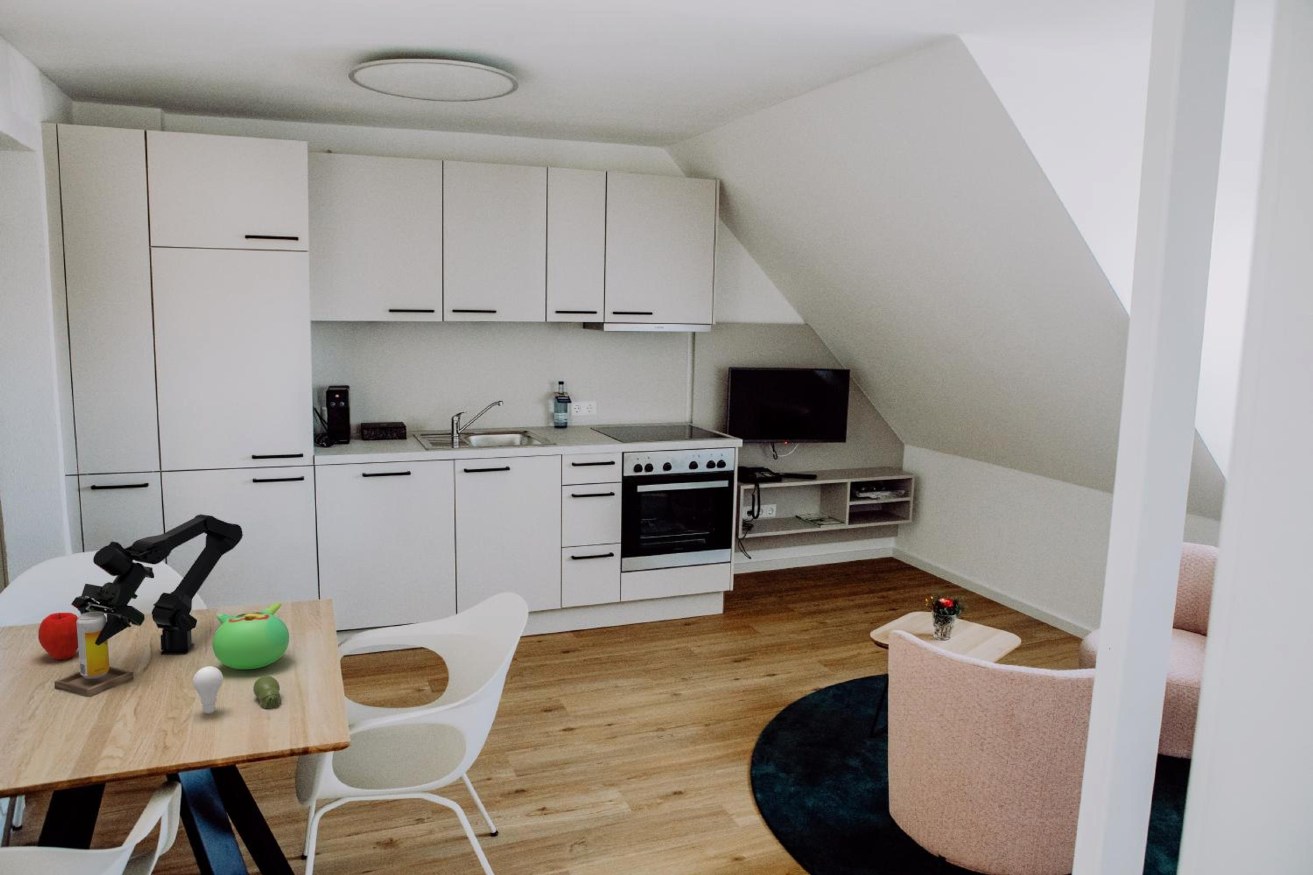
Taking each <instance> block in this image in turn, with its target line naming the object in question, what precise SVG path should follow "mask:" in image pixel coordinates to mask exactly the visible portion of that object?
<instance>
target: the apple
mask: <svg viewBox="0 0 1313 875" xmlns="http://www.w3.org/2000/svg"><path fill="white" fill-rule="evenodd" d="M77 620H78V616H77V614H74V613H73V612H56V613H55V612H54V613H51V614H49V615H48V616H46V617H45V618H44V619H42V620H41V623H40V624H39V627H38V631H37V632H38V636H37V638H38V643H39V644H40V646H41V647H42V649H43V650H44V651H45V652H46V653H47V654H48V655H49V656H50V657H52V659H55V660H66V659H70V658H72V657H74V655H75V654H76V653H77V651H78V650H79V649H78V640H77V639H76V638H77Z"/></svg>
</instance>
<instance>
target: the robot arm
mask: <svg viewBox="0 0 1313 875" xmlns="http://www.w3.org/2000/svg"><path fill="white" fill-rule="evenodd" d="M203 534H206V536H205V545H204V548H203V550H202V551H201V552H200V554H199V555H198V556H197V558H196V559H195V560H194V561H193V562H194V563H192V565H191V566H190V568H189V570H187V571H186V574H185V575H183V578H182V579H181V580H180V583H179V584H178V585H177V587H176V588H175V589H174V590H173V591H171V592H169V593H168V592H162V593H161V594H160V595H159V598H158V599H157V600H156V602H155V603H153V606H154V607H153V608H152V610H151V619H152V621H153V622H154V623H155V624H156V627H157V629H162V630H161V635H160V636H159V637H160V650H161V651H160V655H161V656H162V655H186V654H188V653H189V652H190V651H191V649H193V647H195V643H193V638H192V636H193V635H192V630H193V629H195V628H196V627H197V624H198V620H197V618H195V617H194V616H193V615H191V612H192V609H193V599H194V598H195V596H196V594H197V592H198V591H199V590H200V588H201V587H202V585H203V584H204V582H205V581H206V579H207V578H208V576H209V575H210V574H211V572H212V571H213V569H214V568H215V567H216V565H217V564H218V562H219V561H220V560H221V558H222V557H223V556H224V555H225V554H226V553H228V552H230V551H232V550H234V548H236V546H237V545H238V544H239V543H240V542H241V540H242V539H243V536H244V534H243V528H242V527H241V525H240V524H237V523H231V522H226V521H224V520H221V519H219V518H216V517H215V516H213V515H209V514H203V513H200V514H196V515H195V516H194V517H193V518H191V519H189V520H187V521H185V522H183V523H182V524H179V525H178V526H175V527H174V528H171V529H170V530H168V531H166V532H163V533H161V534H158V535H152V536H147V537H143V538H140V539H136V540H134V542H132V544H131V545H129V546H127V547H123V546H122V544H120V543H119V542H118V541H110V542H109V544H108V545H105V546H103V547H101V548H100V549H99V550H97V551H96V552H95V554H94V556H93V559H92V560H93V564H94V565H96V566H97V567H99V568H100V569H101V570H102V571H103V572H106V573H107V574H108V575H110V576H111V577H115V578H114V579H113V581H111V582H109V581H107V582H106V583H105V582H104V584H103V585H97V584H90V583H84V586H83V589H82V593H81V595H79V596H77V597H75V598H74V600H72V602H71V603H70V605H71V606H73V607H74V608H76V609H77V611H79V613H80V615H81V614H84V613H88V612H103V613H104V615H106V624H105V626H104V627H103V629H102V631H101V633H100V634H99V636H98V638H97V640H96V642H95V644H96V645H100V644H102V643H103V642H105V641H106V640H108V641H109V640H110V639H111V638H112V637H114V636H116V635H117V634H118V633H121V632H122V631H124V630H125V629H128V628H131V627H132V626H137V627H141V626H142V625H143V623H144V621H145V620H146V618H145V613H143V612H142V611H141V610H139V609H137V608H136V607H134V605H129V603H130V601H131V600H133V599H134V600H137V597H138V596H139V595H138V594H136V592H137V591H138V589H139V588H140V587H141V584H142V583H143V582H144V580H145V579H146V578H147V579H154V578H155V573H154V570H153V567H151V566H145V565H144V564H148V565H149V564H150V565H157V564H158V565H159V564H160V563H161V562H162V561H164V560H165V559H167V557H169V556H170V555H171V553H172V551H173V550H174V549H176V548H178V547H180V546H182V545H183V544H185V543H188V542H189V541H190V540H193V539H195V538H197V537H198V536H200V535H203ZM76 639H77V640H78V635H77V638H76Z"/></svg>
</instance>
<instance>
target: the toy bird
mask: <svg viewBox="0 0 1313 875" xmlns="http://www.w3.org/2000/svg"><path fill="white" fill-rule="evenodd" d="M282 604H283V603H281V602H278V603H274V604H273V605H270V606H268V607H267V608H265V609H263V610H260V611H258V612H248V613H241V614H238V615H235V616H232V615H229V614H225V613H218V614H216V618H217V620H218V621H219V622H220V623H221V625H219V627H218V628H217V629H216V631H215V632H214V635H213V638H212V639H213V640H212V651H213V653H214V655H215V657H216V659H217V661H219V662H220V663H221V664H223V665H224V666H226V667H229V668H232V669H236V670H255V669H260V668H264V667H266V666H269V665H271V664H273V663H276V661H278V660H279V659H280V658H281V657H283V656H284V655H285V653H286V652H287V649H288V647H289V644H290V632H289V628H288V627H287V625H286V623H285V622H284V621H283V620H282V619H281V618H280V617H277V616H276V615H275V614H276V613H277V612H278V610H279V609H280V607H281V606H282Z"/></svg>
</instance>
